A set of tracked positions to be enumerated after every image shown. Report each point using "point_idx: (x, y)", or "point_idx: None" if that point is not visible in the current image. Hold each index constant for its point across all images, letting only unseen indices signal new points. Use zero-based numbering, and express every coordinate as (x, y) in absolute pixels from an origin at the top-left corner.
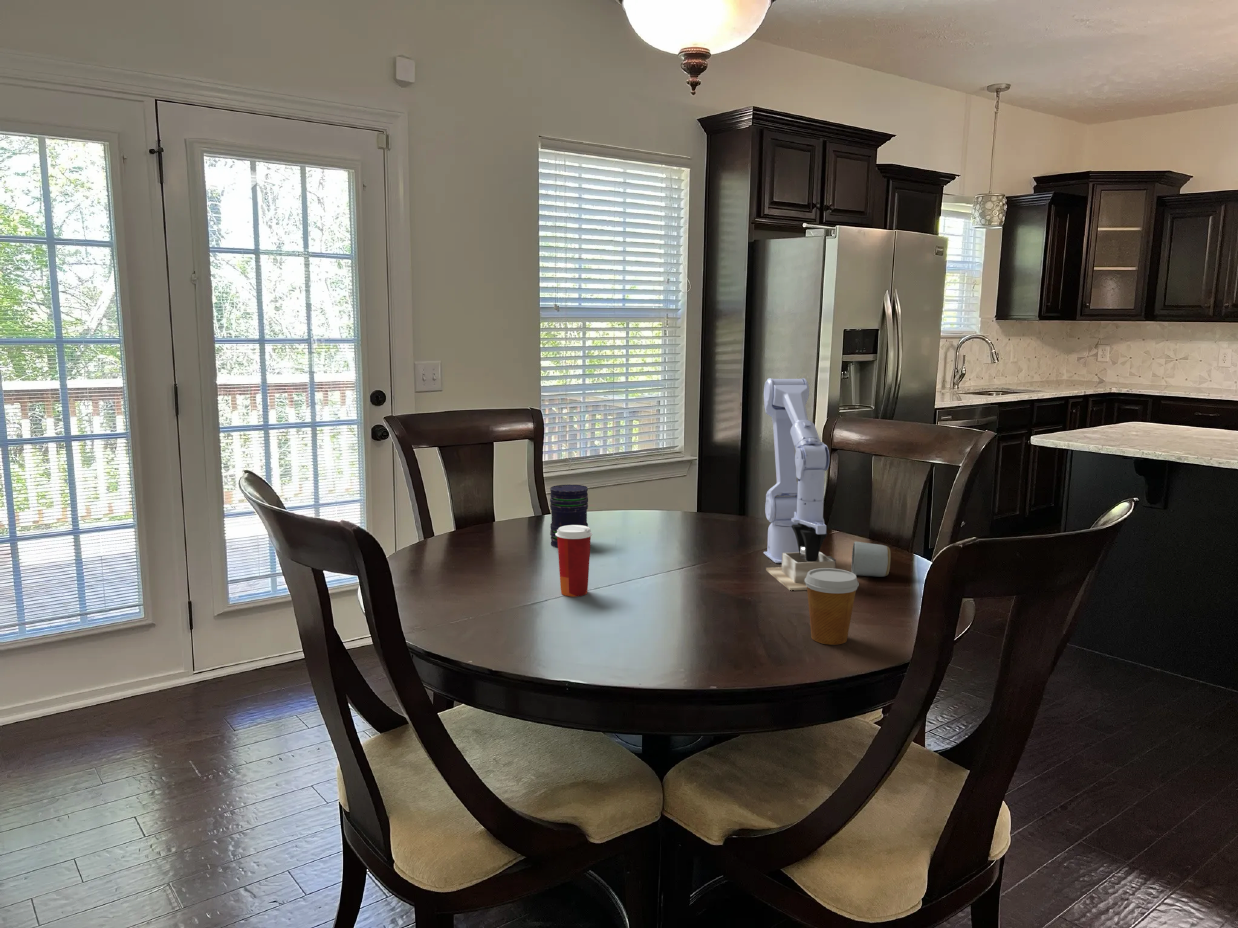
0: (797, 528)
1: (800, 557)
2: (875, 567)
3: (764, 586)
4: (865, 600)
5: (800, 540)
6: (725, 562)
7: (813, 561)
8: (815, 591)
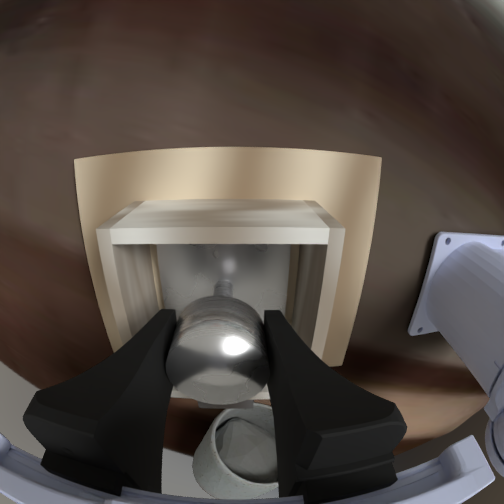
0: (300, 441)
1: (217, 296)
2: (198, 448)
3: (142, 69)
4: (33, 336)
5: (280, 374)
6: (475, 71)
7: None
8: None
